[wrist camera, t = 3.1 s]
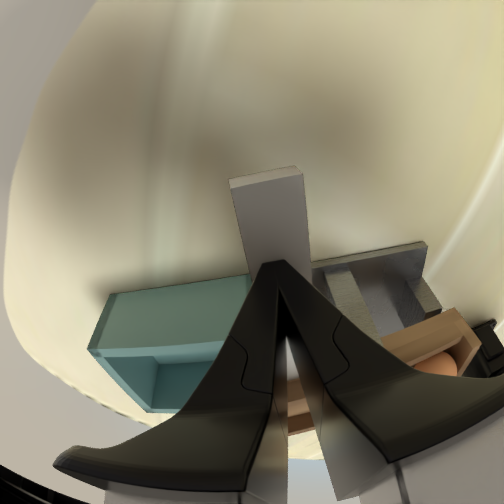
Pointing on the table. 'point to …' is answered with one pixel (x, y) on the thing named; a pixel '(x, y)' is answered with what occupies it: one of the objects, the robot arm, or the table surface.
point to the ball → (438, 364)
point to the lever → (298, 255)
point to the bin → (166, 338)
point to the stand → (379, 288)
